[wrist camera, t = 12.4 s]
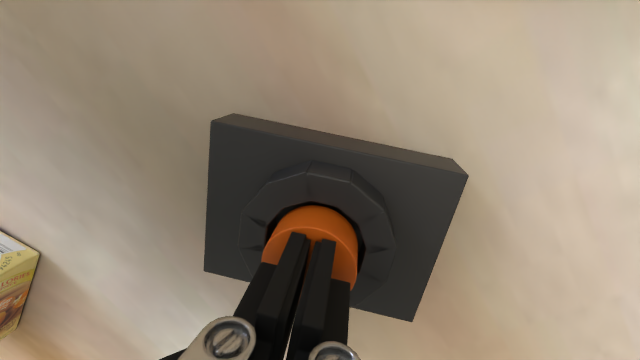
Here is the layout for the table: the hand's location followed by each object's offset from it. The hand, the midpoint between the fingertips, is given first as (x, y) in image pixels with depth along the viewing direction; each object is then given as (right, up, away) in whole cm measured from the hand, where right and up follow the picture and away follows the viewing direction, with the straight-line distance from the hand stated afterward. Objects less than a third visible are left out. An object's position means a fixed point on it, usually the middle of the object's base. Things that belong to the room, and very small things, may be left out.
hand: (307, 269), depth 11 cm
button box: (+1, +2, +5) cm, 5 cm away
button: (0, +1, +2) cm, 2 cm away
